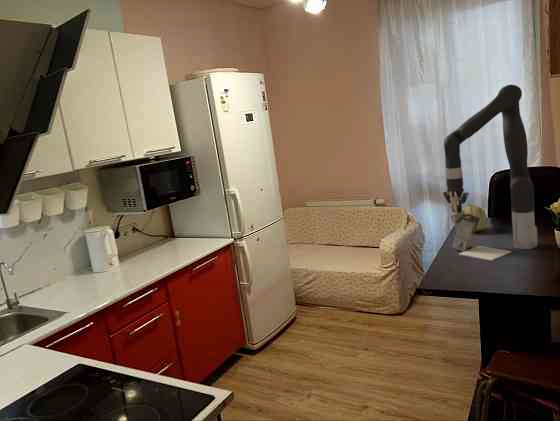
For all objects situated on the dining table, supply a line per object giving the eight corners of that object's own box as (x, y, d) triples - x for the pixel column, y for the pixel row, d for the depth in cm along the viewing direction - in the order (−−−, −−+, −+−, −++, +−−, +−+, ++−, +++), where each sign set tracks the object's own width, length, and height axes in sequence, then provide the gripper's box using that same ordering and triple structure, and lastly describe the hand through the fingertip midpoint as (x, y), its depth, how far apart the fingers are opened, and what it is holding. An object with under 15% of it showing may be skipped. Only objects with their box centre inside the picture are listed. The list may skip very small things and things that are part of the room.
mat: (511, 252, 210) (511, 251, 210) (491, 260, 202) (491, 259, 202) (478, 246, 224) (478, 245, 224) (458, 254, 217) (458, 253, 217)
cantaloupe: (470, 236, 243) (469, 209, 240) (453, 231, 257) (451, 205, 254) (494, 231, 246) (492, 204, 244) (475, 226, 260) (474, 201, 258)
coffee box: (457, 241, 230) (467, 213, 223) (470, 246, 226) (480, 217, 220) (451, 247, 223) (461, 217, 216) (464, 252, 219) (474, 222, 213)
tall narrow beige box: (466, 218, 224) (461, 194, 221) (455, 224, 220) (450, 199, 217) (462, 218, 226) (457, 193, 223) (452, 224, 222) (447, 199, 219)
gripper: (471, 175, 215) (474, 211, 218) (447, 175, 227) (450, 209, 230) (461, 178, 211) (464, 214, 214) (437, 178, 223) (440, 212, 226)
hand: (457, 211), depth 222 cm, fingers closed on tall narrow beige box, 2 cm apart
